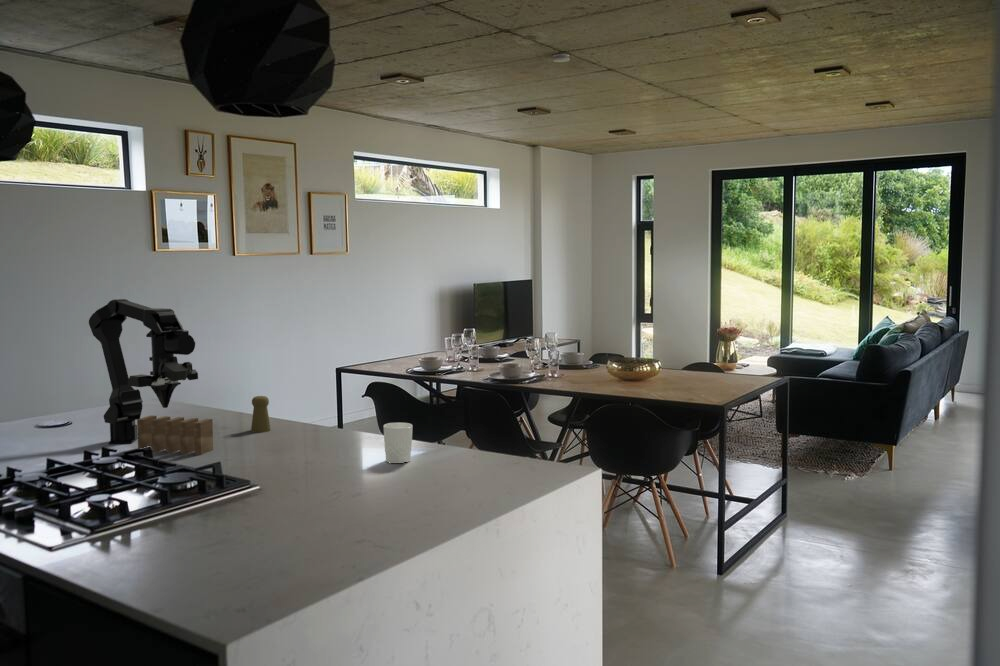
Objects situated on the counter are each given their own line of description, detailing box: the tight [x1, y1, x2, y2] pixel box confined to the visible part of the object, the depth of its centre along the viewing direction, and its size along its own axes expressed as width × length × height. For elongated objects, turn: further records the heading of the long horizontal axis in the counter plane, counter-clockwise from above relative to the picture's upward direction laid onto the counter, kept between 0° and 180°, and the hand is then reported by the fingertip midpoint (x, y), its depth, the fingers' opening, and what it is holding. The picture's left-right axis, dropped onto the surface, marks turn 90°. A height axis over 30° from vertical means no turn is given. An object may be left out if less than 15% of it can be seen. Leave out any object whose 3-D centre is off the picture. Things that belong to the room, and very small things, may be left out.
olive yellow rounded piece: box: [250, 395, 271, 433], centre depth 255 cm, size 6×6×11 cm
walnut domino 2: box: [151, 415, 171, 453], centre depth 229 cm, size 2×6×9 cm, turn 168°
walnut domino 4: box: [179, 417, 199, 455], centre depth 227 cm, size 2×6×9 cm, turn 168°
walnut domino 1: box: [136, 415, 158, 450], centre depth 230 cm, size 2×6×9 cm, turn 169°
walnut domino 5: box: [194, 418, 214, 456], centre depth 226 cm, size 2×6×9 cm, turn 168°
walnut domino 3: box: [165, 416, 185, 454], centre depth 228 cm, size 2×6×9 cm, turn 168°
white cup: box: [383, 422, 413, 464], centre depth 219 cm, size 8×8×10 cm
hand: (165, 407), depth 228 cm, fingers closed
